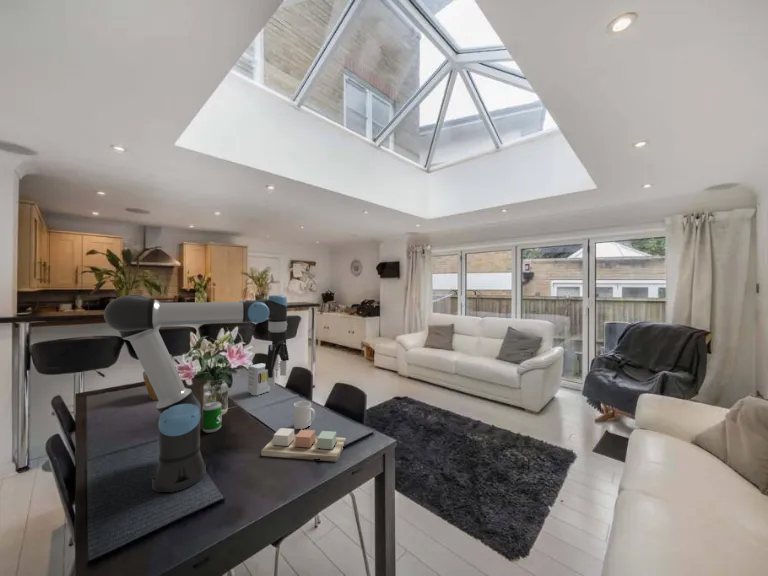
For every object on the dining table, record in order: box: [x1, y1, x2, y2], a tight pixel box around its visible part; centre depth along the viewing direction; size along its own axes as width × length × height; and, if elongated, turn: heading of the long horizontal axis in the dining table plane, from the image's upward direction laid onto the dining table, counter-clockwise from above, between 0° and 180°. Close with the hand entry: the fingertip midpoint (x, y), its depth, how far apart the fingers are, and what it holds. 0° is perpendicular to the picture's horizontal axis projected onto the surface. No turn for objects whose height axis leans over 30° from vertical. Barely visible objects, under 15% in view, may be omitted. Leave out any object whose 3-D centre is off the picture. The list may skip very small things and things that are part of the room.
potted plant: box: [142, 353, 173, 401], centre depth 180 cm, size 18×19×25 cm
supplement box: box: [247, 362, 271, 395], centre depth 188 cm, size 10×9×17 cm
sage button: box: [317, 430, 337, 450], centre depth 123 cm, size 6×6×4 cm
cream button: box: [273, 427, 295, 447], centre depth 125 cm, size 6×6×4 cm
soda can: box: [202, 400, 223, 434], centre depth 140 cm, size 8×8×12 cm
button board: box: [260, 433, 347, 462], centre depth 124 cm, size 14×30×2 cm, turn 83°
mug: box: [293, 400, 316, 430], centre depth 143 cm, size 12×8×10 cm, turn 53°
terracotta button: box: [295, 429, 316, 449], centre depth 124 cm, size 6×6×4 cm
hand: (277, 380), depth 133 cm, fingers open, 13 cm apart
